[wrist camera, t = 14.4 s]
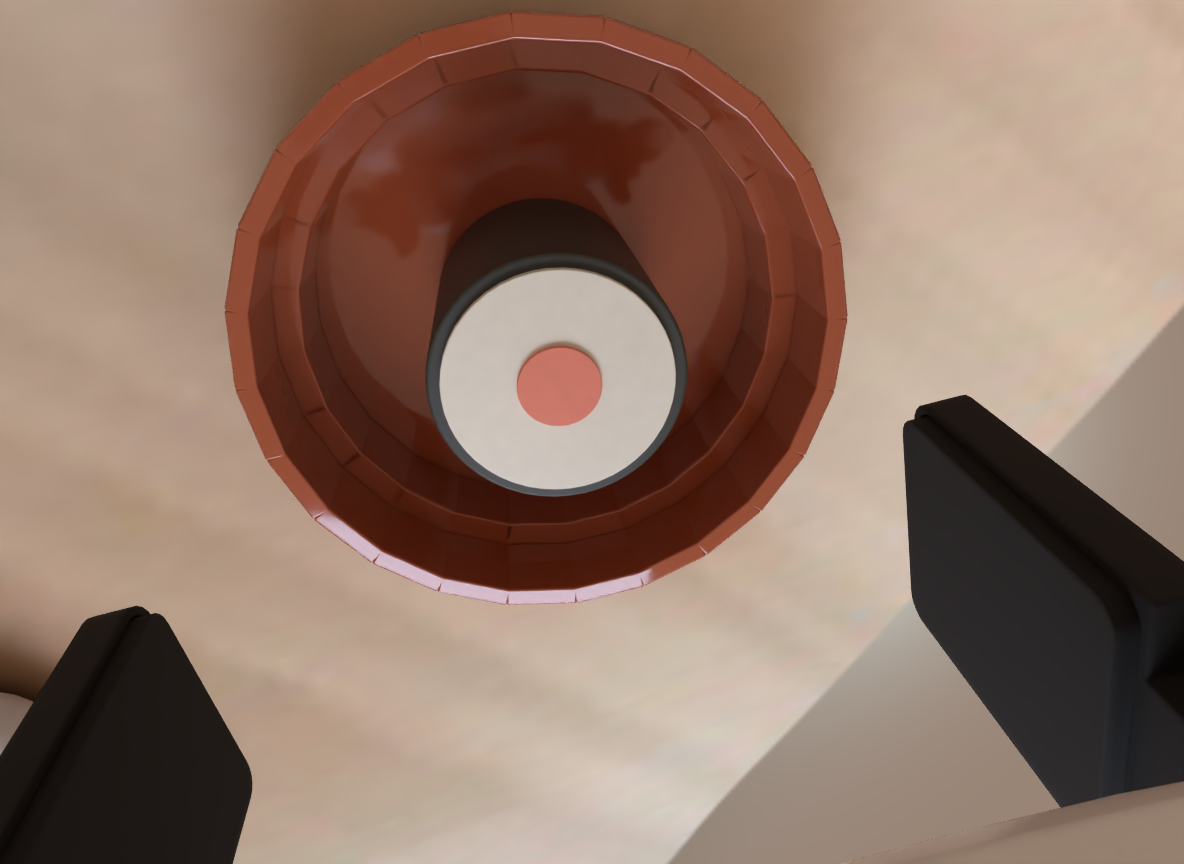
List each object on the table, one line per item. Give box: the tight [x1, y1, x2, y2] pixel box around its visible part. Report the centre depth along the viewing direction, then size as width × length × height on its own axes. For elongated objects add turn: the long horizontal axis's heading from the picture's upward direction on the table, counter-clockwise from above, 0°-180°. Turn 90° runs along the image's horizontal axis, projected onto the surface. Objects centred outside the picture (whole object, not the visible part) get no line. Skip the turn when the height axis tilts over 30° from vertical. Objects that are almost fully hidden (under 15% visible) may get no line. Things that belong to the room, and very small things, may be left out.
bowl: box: [225, 11, 847, 605], centre depth 22 cm, size 14×14×5 cm
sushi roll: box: [425, 198, 687, 497], centre depth 21 cm, size 6×6×6 cm
